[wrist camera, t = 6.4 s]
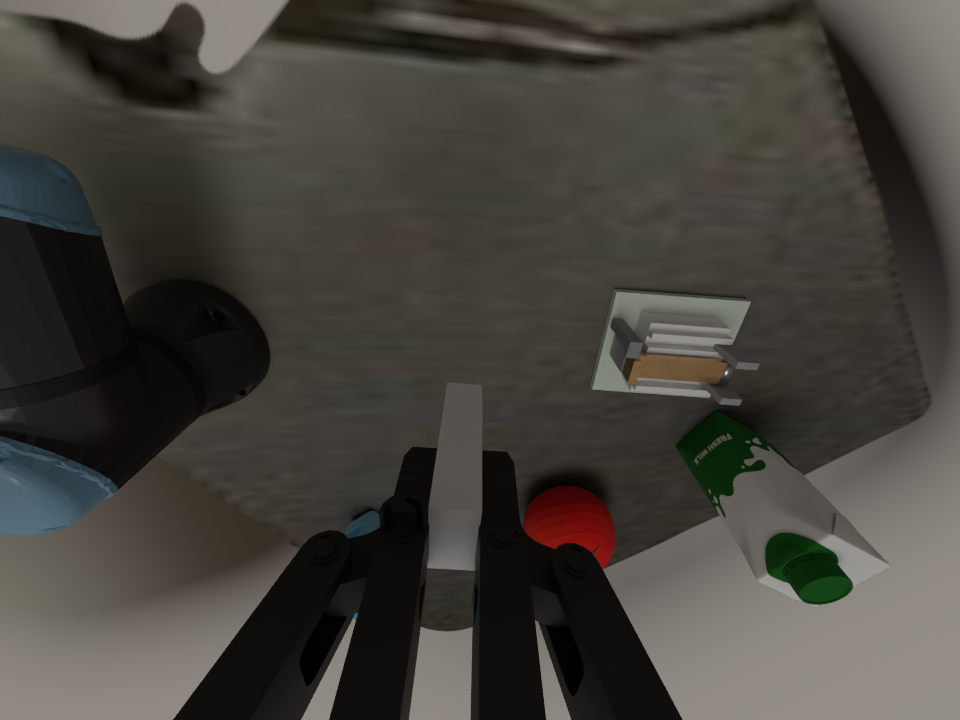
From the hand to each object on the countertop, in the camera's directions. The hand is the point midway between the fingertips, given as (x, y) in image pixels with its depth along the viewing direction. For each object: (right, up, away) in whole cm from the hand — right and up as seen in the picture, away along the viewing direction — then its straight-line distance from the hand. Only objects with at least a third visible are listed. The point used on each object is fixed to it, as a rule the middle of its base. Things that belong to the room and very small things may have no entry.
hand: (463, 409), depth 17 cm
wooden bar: (+21, +2, +21) cm, 30 cm away
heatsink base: (+21, +4, +26) cm, 34 cm away
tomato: (+13, -18, +38) cm, 44 cm away
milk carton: (+31, -8, +32) cm, 46 cm away
